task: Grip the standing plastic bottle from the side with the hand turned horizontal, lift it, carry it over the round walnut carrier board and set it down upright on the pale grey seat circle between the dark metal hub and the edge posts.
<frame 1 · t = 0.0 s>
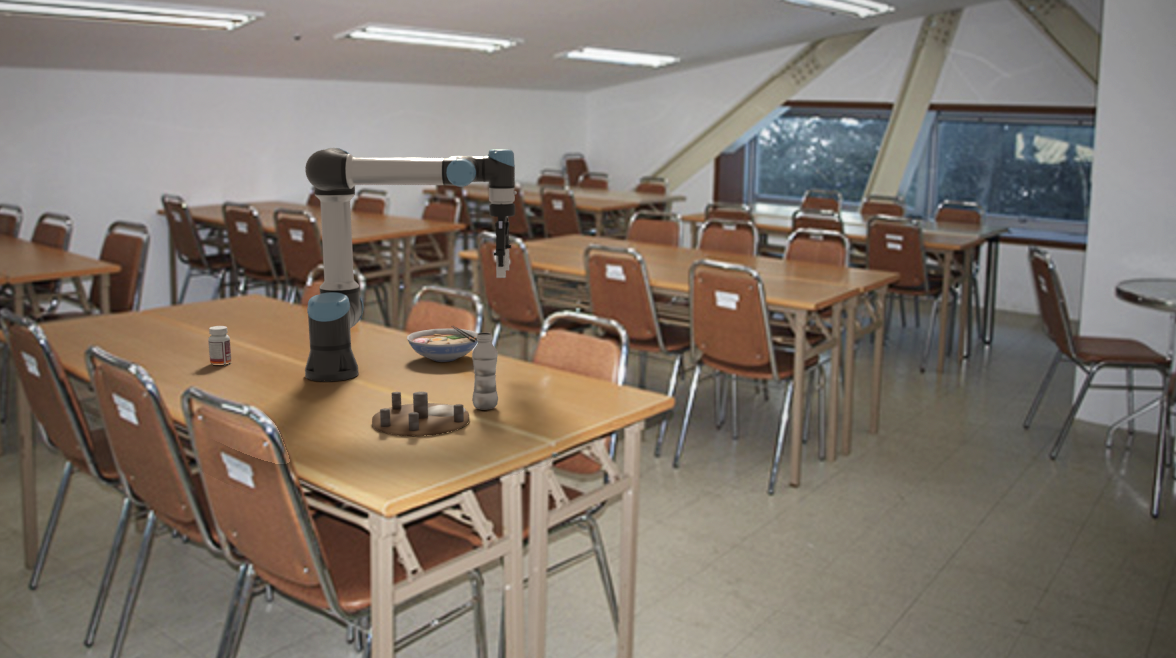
hand: (503, 274, 306), 28 cm above the table, tool pointing down, fingers open, 13 cm apart
plastic bottle: (485, 409, 267), on the table
carrier board: (421, 421, 256), on the table
pill bottle: (220, 364, 311), on the table
ramen bowl: (444, 359, 318), on the table
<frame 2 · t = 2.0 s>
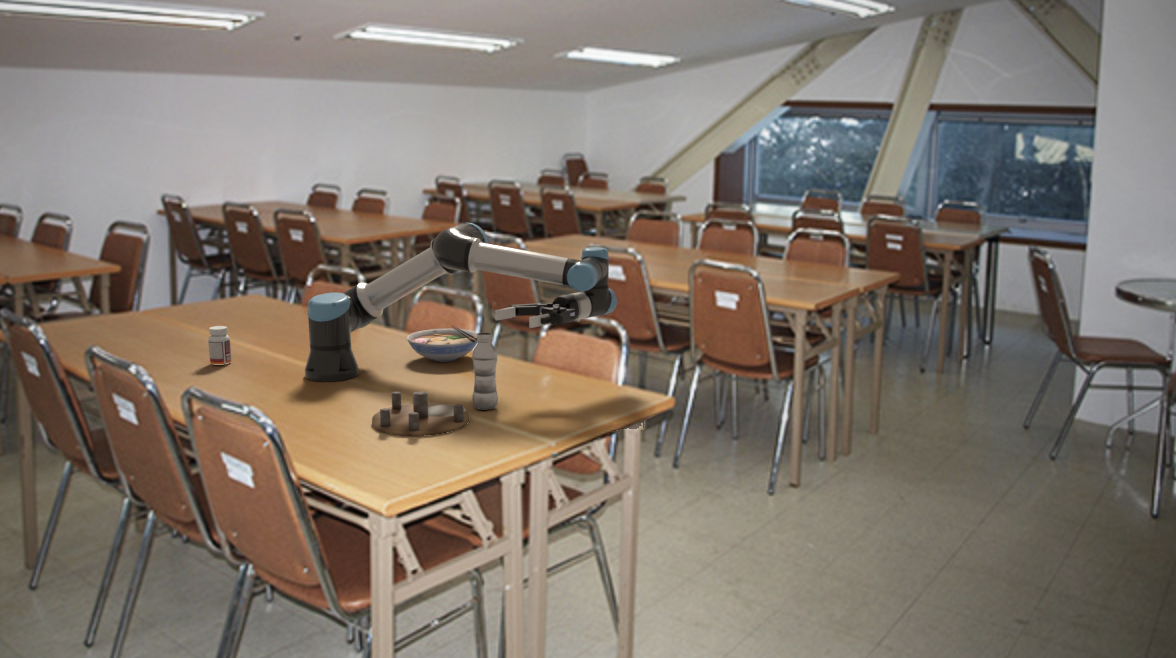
hand: (512, 318, 269), 22 cm above the table, tool horizontal, fingers open, 13 cm apart
nothing on the table moved.
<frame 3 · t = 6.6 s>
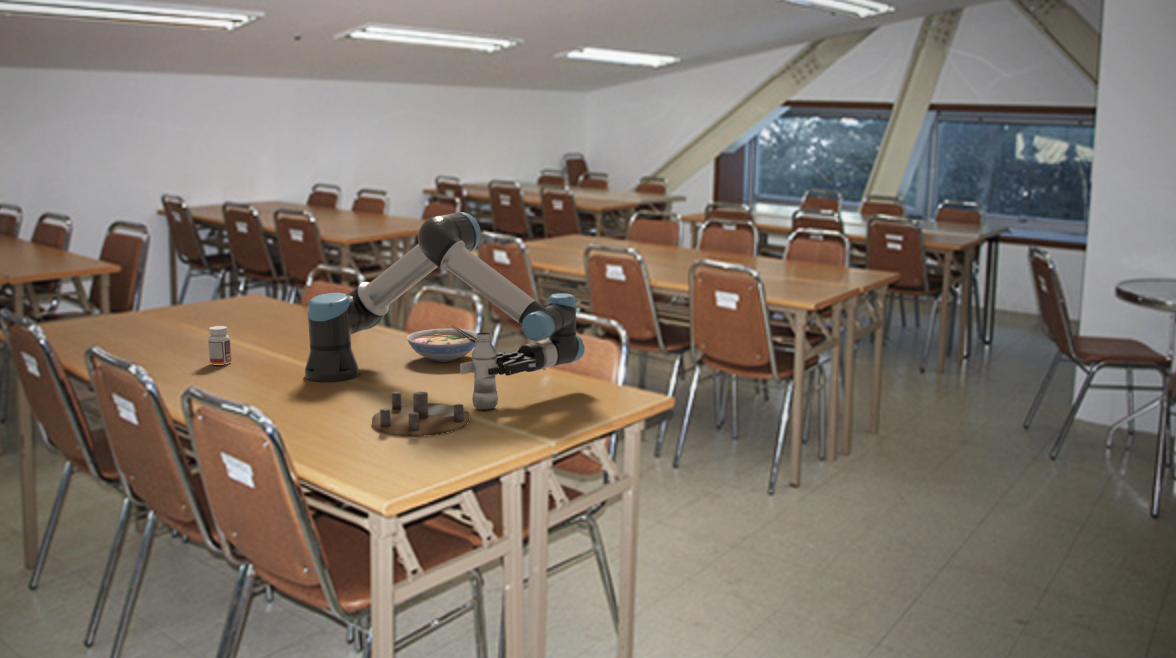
hand: (469, 371, 261), 11 cm above the table, tool horizontal, fingers closed on plastic bottle, 6 cm apart
plastic bottle: (485, 409, 267), on the table, touching gripper
everything else where it was.
when the fingers open (14 cm above the table, at t = 10.3 s): plastic bottle drops 1 cm, resting on carrier board.
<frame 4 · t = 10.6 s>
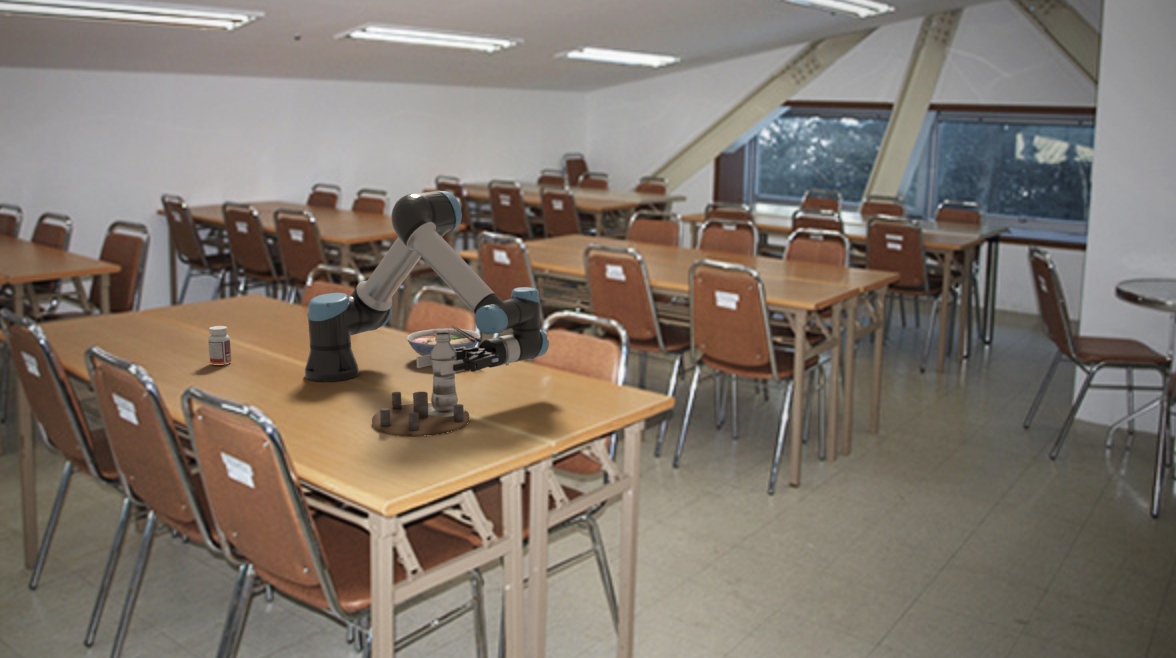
hand: (429, 366, 255), 14 cm above the table, tool horizontal, fingers open, 9 cm apart
plastic bottle: (444, 411, 261), point 1 cm above the table, touching carrier board
everything else where it was.
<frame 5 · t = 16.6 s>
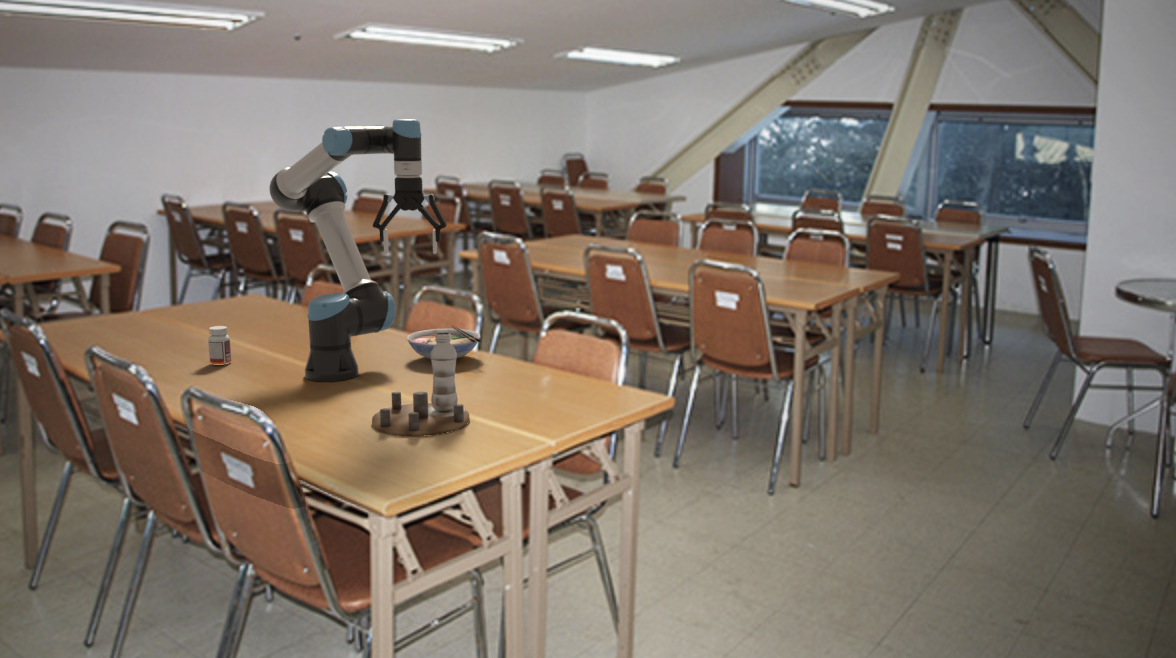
hand: (410, 253, 286), 37 cm above the table, tool pointing down, fingers open, 13 cm apart
nothing on the table moved.
at the end: plastic bottle inside the target area on the carrier board (0.1 cm from its centre), point 1.0 cm above the carrier board's base; plastic bottle tilted 0°; the gripper is holding nothing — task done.
